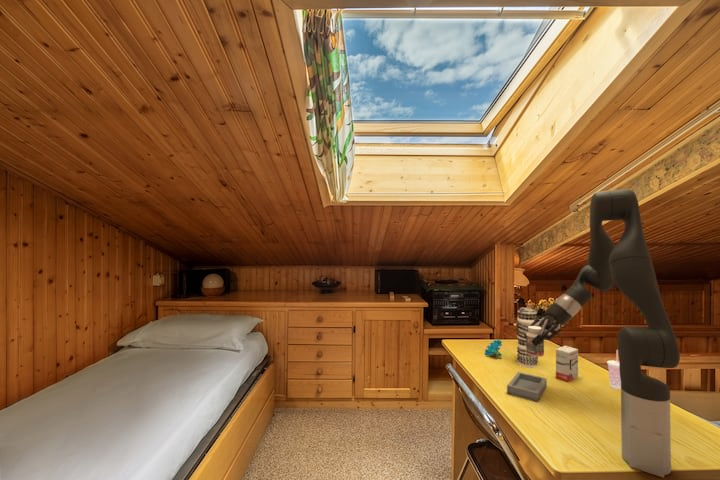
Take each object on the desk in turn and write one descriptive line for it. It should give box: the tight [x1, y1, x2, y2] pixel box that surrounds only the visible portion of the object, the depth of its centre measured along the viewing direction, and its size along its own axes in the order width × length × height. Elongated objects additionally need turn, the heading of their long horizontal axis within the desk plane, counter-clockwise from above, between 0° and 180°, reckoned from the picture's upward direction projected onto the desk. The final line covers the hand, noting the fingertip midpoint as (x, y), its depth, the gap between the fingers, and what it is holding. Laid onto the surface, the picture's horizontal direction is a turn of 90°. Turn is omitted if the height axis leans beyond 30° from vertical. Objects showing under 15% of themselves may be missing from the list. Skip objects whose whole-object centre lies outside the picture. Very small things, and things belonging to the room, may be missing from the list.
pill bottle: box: [526, 326, 545, 358], centre depth 120 cm, size 6×6×10 cm
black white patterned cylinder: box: [515, 306, 539, 368], centre depth 148 cm, size 9×9×25 cm
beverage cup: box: [606, 349, 621, 391], centre depth 123 cm, size 6×6×14 cm
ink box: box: [555, 345, 579, 383], centre depth 132 cm, size 8×5×12 cm, turn 123°
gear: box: [484, 339, 503, 360], centre depth 158 cm, size 11×6×10 cm
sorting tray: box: [506, 371, 548, 403], centre depth 121 cm, size 16×10×3 cm, turn 141°
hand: (529, 341), depth 120 cm, fingers closed on pill bottle, 5 cm apart
